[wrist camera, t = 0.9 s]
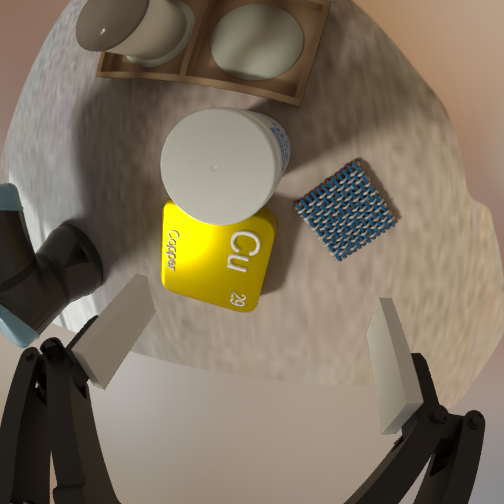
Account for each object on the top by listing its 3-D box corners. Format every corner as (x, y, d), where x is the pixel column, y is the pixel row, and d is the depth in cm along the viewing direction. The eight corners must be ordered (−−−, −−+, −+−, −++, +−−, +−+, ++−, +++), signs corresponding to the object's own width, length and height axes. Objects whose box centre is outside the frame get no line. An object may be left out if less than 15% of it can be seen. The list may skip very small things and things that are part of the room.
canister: (121, 61, 27) (67, 54, 18) (138, 6, 23) (90, -14, 13) (177, 63, 27) (128, 48, 18) (196, 3, 23) (157, -29, 13)
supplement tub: (306, 146, 31) (309, 165, 18) (256, 200, 35) (227, 252, 22) (246, 96, 29) (204, 81, 16) (200, 153, 33) (138, 178, 21)
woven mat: (336, 260, 37) (337, 267, 36) (290, 202, 35) (290, 207, 33) (396, 220, 33) (401, 226, 31) (355, 155, 30) (358, 157, 29)
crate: (108, 77, 30) (95, 77, 27) (133, -5, 22) (122, -10, 20) (299, 107, 29) (299, 106, 26) (329, 10, 21) (331, 1, 19)
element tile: (176, 187, 37) (160, 197, 32) (281, 211, 36) (277, 224, 31) (171, 274, 44) (158, 290, 40) (258, 299, 43) (253, 319, 39)
